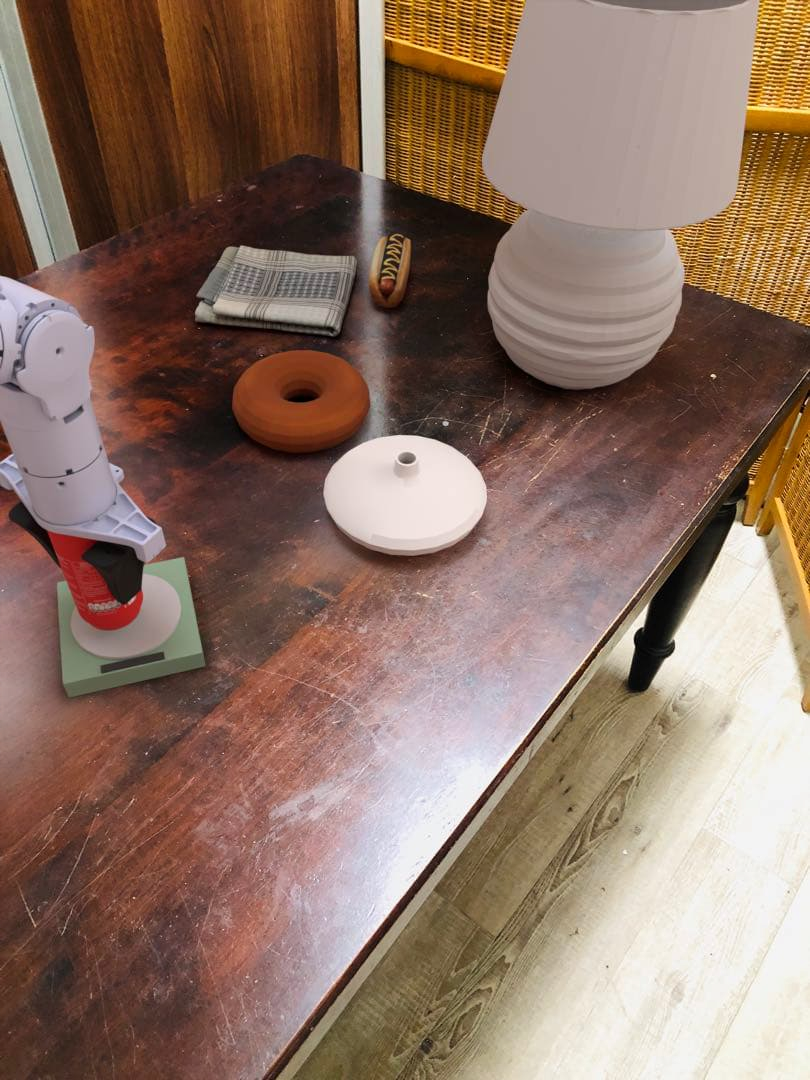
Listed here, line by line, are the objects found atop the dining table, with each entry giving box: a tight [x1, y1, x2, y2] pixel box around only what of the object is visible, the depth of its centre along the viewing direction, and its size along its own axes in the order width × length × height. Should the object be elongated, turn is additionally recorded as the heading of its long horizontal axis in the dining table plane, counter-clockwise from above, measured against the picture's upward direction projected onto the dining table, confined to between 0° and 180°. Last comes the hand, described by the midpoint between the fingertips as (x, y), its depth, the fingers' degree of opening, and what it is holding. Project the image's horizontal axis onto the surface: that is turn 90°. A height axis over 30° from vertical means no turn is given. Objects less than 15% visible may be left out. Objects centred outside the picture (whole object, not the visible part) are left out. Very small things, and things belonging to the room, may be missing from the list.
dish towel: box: [194, 245, 358, 337], centre depth 112 cm, size 19×18×3 cm
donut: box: [231, 349, 371, 454], centre depth 94 cm, size 15×15×5 cm
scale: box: [56, 556, 207, 698], centre depth 75 cm, size 11×11×2 cm
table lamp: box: [481, 0, 760, 391], centre depth 90 cm, size 25×25×40 cm
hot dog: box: [368, 231, 412, 309], centre depth 113 cm, size 5×13×5 cm, turn 175°
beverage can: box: [47, 530, 143, 631], centre depth 68 cm, size 5×5×12 cm
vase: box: [323, 434, 488, 557], centre depth 84 cm, size 16×16×7 cm
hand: (103, 580), depth 69 cm, fingers closed on beverage can, 5 cm apart
